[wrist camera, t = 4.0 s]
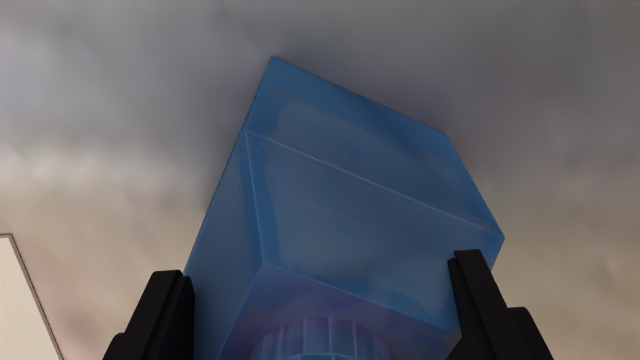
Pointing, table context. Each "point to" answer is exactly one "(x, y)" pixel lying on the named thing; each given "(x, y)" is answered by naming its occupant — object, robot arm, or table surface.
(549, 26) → the table surface
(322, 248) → the perfume bottle
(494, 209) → the table surface
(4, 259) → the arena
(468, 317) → the robot arm
